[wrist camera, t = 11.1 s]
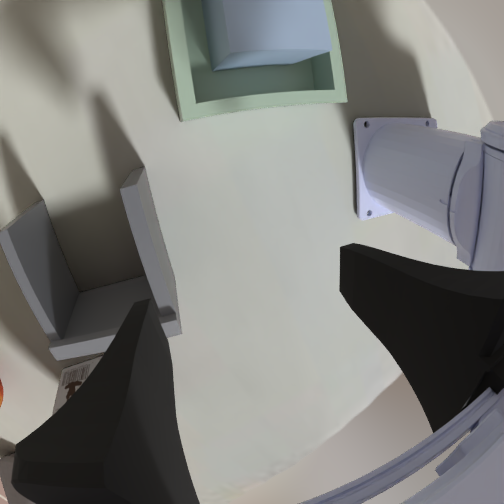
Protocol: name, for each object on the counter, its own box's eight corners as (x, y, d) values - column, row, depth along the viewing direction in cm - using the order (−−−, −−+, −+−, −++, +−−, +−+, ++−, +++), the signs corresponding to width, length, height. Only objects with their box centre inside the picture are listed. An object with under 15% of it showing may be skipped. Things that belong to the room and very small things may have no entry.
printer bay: (144, 166, 17) (135, 187, 11) (175, 278, 20) (182, 334, 15) (34, 203, 15) (-9, 238, 10) (75, 303, 19) (56, 360, 14)
